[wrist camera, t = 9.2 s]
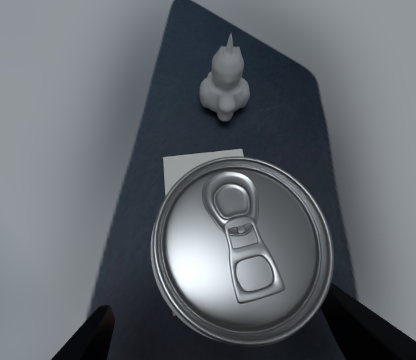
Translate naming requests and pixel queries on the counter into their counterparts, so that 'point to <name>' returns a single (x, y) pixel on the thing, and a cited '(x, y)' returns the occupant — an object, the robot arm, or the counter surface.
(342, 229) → the counter surface
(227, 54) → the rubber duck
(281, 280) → the can
